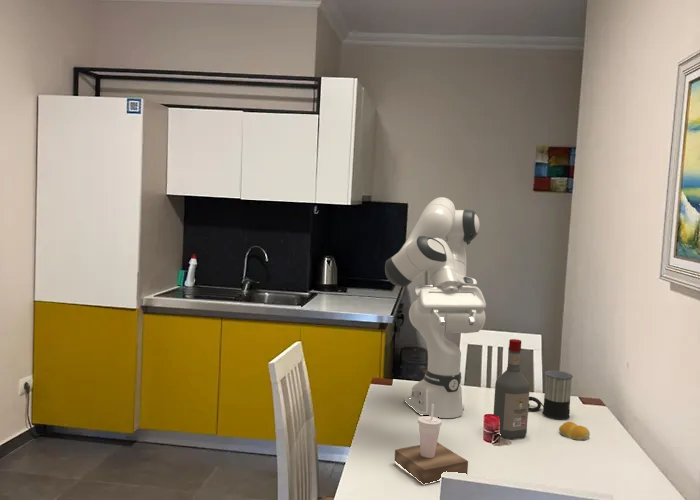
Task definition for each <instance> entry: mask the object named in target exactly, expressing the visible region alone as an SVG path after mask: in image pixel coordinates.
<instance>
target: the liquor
mask: <svg viewBox="0 0 700 500" xmlns="http://www.w3.org/2000/svg"><path fill="white" fill-rule="evenodd" d="M508 341H509V342H508V364H507V367H506V370H505V371H504V372H503V373H501V374H500V375H499V376H498V377H497V379H496V381H495V384H494V385H495V386H494V399H493V400H494V401H493V402H494V403H493V415H496V416H499V417H500V434H501V436H500V438H502V439H505V440H506V439H507V440H517V439H524V438H525V437H526V435H527V433H528V420H529V419H528V416H529V411H528V405H529V404H530V403H529V402H530V401H529V397H530V389H531V388H530V387H531V386H530V382H529V381H528V378H526V376H525V375H524V374H523V373H522V371H521V368H520V365H521V364H520V363H521V362H520V361H521V360H520V359H521V351H522V340H520V339H516V338H514V339H513V338H511V339H509V340H508ZM529 406H530V405H529Z"/></svg>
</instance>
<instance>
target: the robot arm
mask: <svg viewBox="0 0 700 500" xmlns="http://www.w3.org/2000/svg"><path fill="white" fill-rule="evenodd" d="M417 220H418V221H417V222H416V224H415V226H414V227H413V229H412V231H411V232H410V234H409V236H408V237H407V239H406V241H405V242H404V243H403V245H402V246H401V248H400V249H399V250H398V252H397V253H395V254H394V255H393V256H391V257H390V258H388V259H386V261H385V264H384V272H385V277H386V278H387V280H388V281H389V282H390V283H391V284H392V285H395V286H397V287H398V286H399V287H404V288H405V287H406V288H407V287H408V286H409V285H410V284H412V282H413V281H415V280H416V279H417V278H418V277H419V276H421V275H424V273H426V272H427V273H428V274H429V282H430V284H418V285H417V286H416V287H414V295H415V296H416V298H417V299H416V300H414V301H413V302H412V303H411V305H410V307H409V310H408V318H409V321H410V324H411V326H413V328H415V329H416V330H417V331H418V332H419V333H420V334H421V335H422V337H423V339H424V341H425V344H426V349H427V369H422V371H423V372H422V373H423V374H424V376H423V379H421V380H420V381H418V382H417V383H416V384H414V385H413V386H412V387H411V392H410V396H407V397H405V398H404V399H403V401H404V400H405V401H406V402H407V403H408V404H409V405H410V406H412V407H413V408H414V409H415V410H416V411H417V412H418V413H420V414H423V415H429V416H431V409H432V404H434V411H433V416H434V417H436V418H438V417H439V419H453V418H458V417H459V418H460V417H461V416H462V415H463V411H464V410H465V406H464V405H463V391H462V390H463V389H462V385H461V383H462V373H461V361H462V360H461V359H462V358H461V357H462V352H461V349H460V348H459V346H458V345H456V344H455V343H454V342H452V341H450V340H448V339H447V338H446V337H445V334H444V333H453V334H454V333H456V334H458V333H459V334H472V333H474V334H475V333H479V332H480V331H481V330H482V329H483V327H484V326H485V323H486V317H487V316H486V311H485V309H486V307H487V302H486V299H485V297H484V294H483V292H482V290H481V289H480V288H479V287H477V285H478V281H477V279H475V278H473V277H469V276H467V266H468V265H467V261H468V260H467V251H466V246H465V243H466V245H468V246H469V245H471V243H472V241H473V240H474V239H476V237H477V235H478V234H479V230H480V226H481V225H480V219H479V217H478V214H477V213H476V212H475V210H472V209H466V208H465V209H456V207H455V204H454V202H453V201H452V200H450V199H449V198H448V197H443V196H440V197H436V198H434V199H433V200H431V201H430V202H429V203H427V205H426V207H425V208H424V209H423V210H422V213H421V215H420V217H418V219H417ZM409 398H411V399H409ZM423 415H422V416H423Z"/></svg>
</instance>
